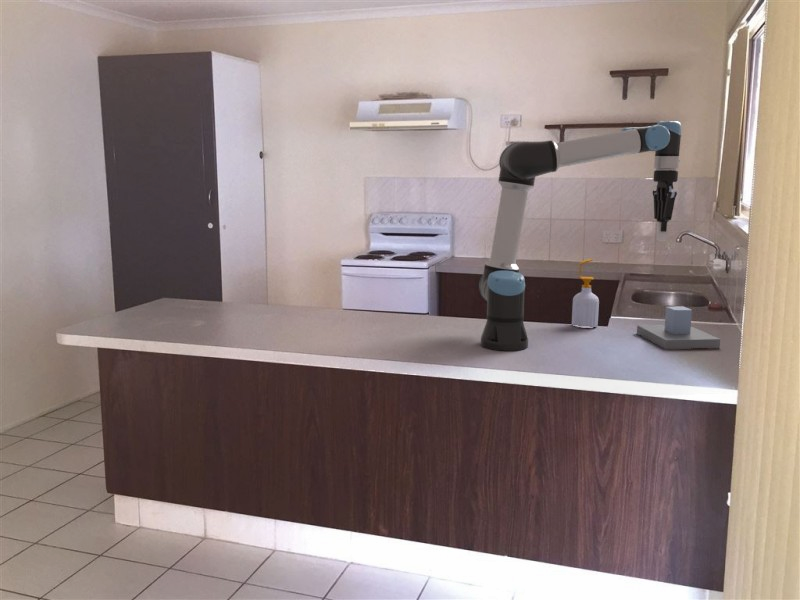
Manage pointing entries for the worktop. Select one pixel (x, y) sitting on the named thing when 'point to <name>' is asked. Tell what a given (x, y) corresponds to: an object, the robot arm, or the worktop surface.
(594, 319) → the soap bottle
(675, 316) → the plug
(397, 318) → the worktop surface
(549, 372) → the worktop surface
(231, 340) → the worktop surface
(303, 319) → the worktop surface
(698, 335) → the socket plate
